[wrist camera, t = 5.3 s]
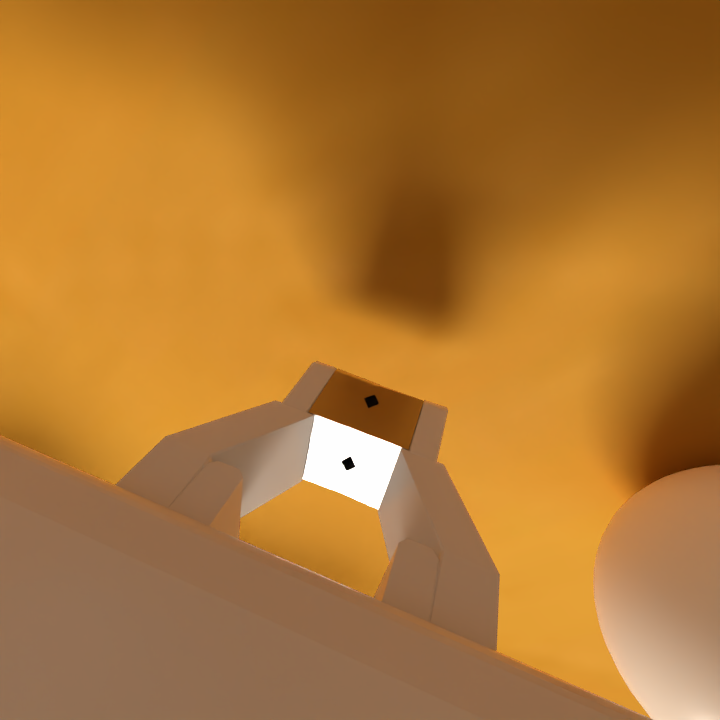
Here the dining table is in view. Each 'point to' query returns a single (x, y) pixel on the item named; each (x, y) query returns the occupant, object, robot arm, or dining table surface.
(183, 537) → the robot arm
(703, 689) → the cue ball
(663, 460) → the dining table surface
